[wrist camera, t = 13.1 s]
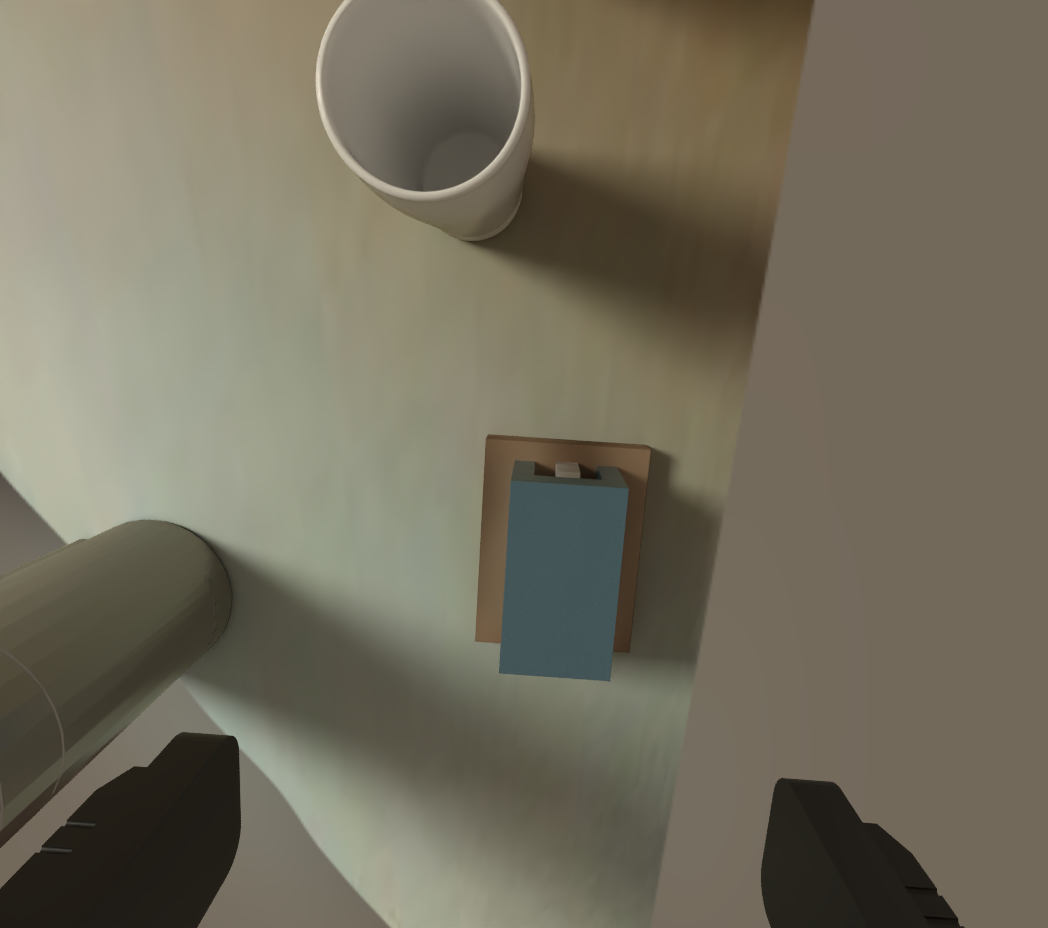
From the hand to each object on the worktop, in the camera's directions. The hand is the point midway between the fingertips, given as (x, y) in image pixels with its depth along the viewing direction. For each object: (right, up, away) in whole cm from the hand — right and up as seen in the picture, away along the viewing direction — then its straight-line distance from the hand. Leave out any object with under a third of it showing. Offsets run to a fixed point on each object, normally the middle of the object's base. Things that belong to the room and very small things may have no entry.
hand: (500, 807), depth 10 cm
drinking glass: (-2, +20, +25) cm, 32 cm away
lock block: (+2, 0, +27) cm, 27 cm away
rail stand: (+2, +1, +29) cm, 29 cm away
